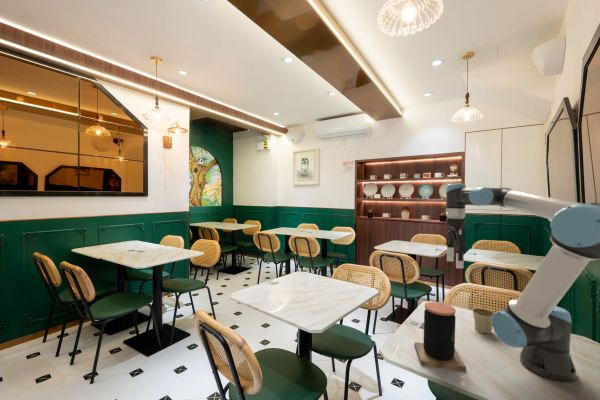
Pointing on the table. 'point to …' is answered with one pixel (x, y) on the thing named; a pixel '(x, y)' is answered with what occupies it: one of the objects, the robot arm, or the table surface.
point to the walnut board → (425, 359)
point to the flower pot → (483, 320)
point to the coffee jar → (439, 330)
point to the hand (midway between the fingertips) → (454, 264)
